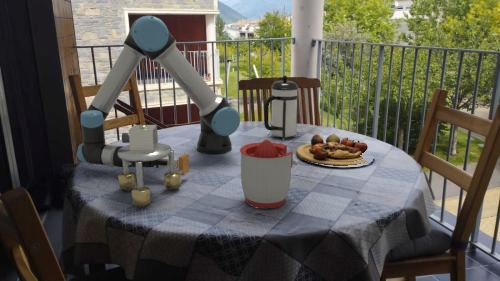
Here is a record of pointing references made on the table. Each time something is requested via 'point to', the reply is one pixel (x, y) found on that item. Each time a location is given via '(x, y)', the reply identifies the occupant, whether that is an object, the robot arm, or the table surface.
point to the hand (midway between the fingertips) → (177, 163)
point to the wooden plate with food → (332, 151)
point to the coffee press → (282, 109)
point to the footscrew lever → (173, 176)
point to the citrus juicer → (266, 173)
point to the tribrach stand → (140, 159)
